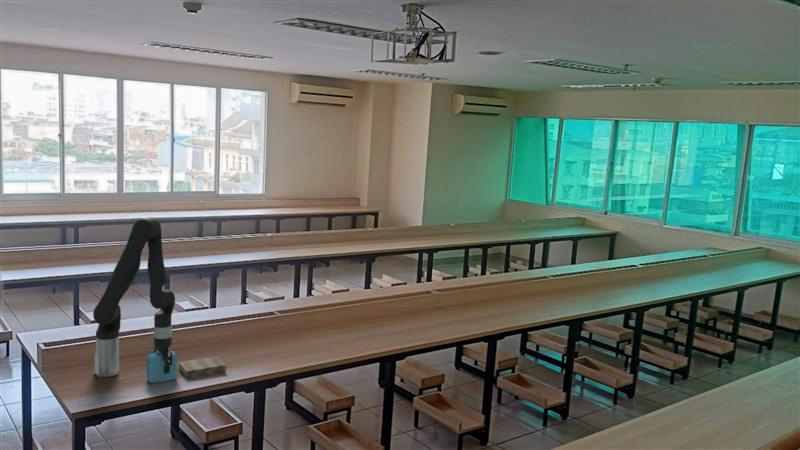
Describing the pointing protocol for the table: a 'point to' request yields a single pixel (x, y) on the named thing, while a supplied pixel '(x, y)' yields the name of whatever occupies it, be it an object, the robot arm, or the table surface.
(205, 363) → the mottled brown block
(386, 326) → the table surface
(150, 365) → the data package
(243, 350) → the table surface
